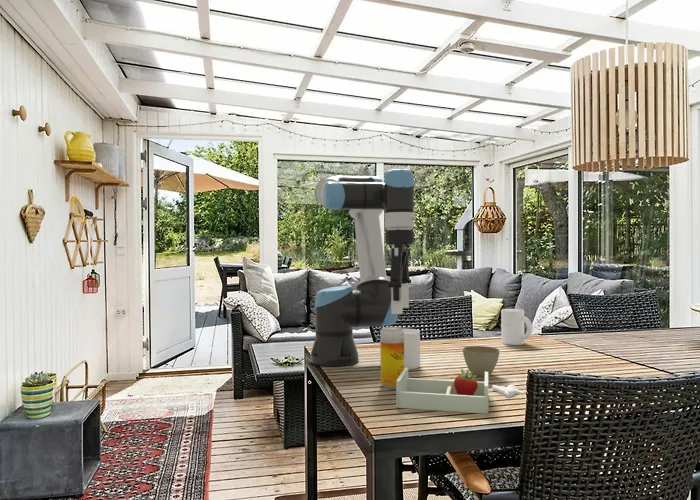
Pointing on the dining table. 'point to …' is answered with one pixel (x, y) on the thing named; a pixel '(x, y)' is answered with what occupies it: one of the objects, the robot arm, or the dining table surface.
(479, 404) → the crate
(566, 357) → the dining table surface
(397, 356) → the beer can
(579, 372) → the dining table surface
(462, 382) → the fruit
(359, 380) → the dining table surface
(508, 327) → the mug
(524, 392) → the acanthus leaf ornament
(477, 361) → the flower pot
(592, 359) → the dining table surface
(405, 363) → the mug
